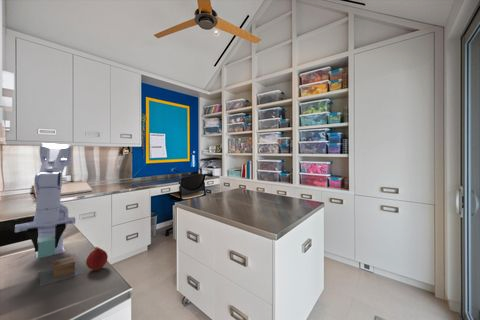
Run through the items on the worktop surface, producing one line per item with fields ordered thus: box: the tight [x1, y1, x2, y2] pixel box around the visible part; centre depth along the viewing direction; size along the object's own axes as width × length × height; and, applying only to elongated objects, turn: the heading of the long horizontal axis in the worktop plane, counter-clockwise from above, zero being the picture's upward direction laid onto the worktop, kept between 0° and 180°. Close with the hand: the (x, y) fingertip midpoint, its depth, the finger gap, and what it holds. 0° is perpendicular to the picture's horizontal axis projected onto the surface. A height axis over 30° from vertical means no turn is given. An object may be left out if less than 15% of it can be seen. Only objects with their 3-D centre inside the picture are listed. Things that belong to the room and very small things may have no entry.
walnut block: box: [52, 255, 76, 278], centre depth 66 cm, size 5×5×4 cm
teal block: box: [37, 236, 56, 259], centre depth 68 cm, size 4×4×5 cm
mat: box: [38, 261, 85, 287], centre depth 66 cm, size 10×10×1 cm
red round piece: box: [85, 246, 109, 272], centre depth 68 cm, size 6×6×8 cm
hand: (46, 248), depth 68 cm, fingers closed on teal block, 4 cm apart
